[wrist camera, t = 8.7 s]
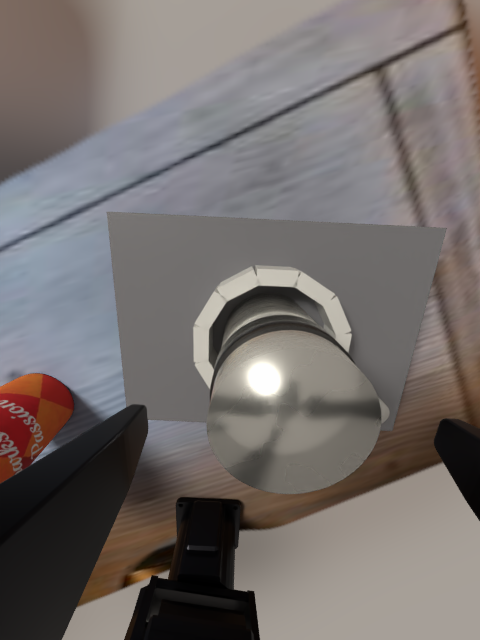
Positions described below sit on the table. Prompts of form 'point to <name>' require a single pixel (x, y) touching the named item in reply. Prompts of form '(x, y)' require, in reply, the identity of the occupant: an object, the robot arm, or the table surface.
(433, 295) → the table surface
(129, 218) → the camera body
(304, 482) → the lens
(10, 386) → the paper cup
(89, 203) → the table surface
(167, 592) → the robot arm
